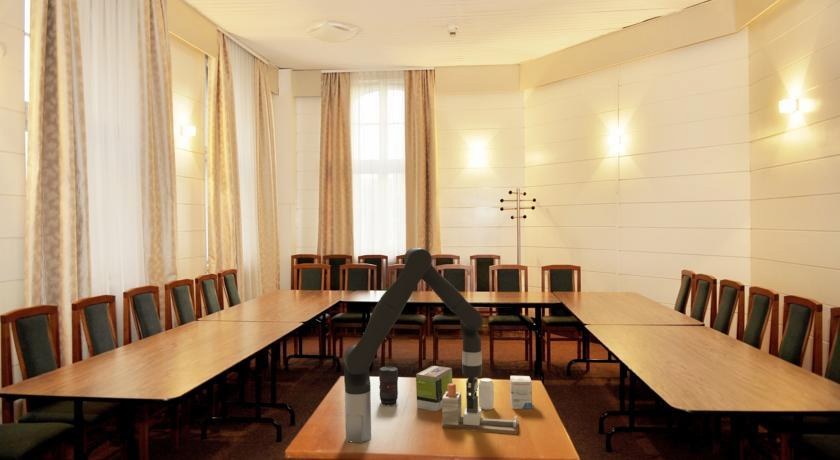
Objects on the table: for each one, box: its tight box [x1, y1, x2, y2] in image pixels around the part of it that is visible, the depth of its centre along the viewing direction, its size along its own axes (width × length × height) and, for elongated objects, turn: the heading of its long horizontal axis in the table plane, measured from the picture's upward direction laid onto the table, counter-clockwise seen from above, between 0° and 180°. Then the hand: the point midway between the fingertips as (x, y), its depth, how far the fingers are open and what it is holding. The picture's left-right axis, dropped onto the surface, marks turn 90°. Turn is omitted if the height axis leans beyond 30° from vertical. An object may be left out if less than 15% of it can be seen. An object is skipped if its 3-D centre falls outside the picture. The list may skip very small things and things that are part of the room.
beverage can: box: [478, 377, 495, 411], centre depth 218 cm, size 6×6×12 cm
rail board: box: [441, 391, 520, 435], centre depth 199 cm, size 10×28×11 cm, turn 76°
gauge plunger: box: [448, 382, 457, 397], centre depth 201 cm, size 3×3×10 cm
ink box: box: [509, 375, 533, 410], centre depth 221 cm, size 9×8×12 cm
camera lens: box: [378, 366, 399, 406], centre depth 226 cm, size 8×8×15 cm
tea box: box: [415, 365, 453, 412], centre depth 223 cm, size 15×10×15 cm, turn 149°
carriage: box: [462, 395, 482, 426], centre depth 199 cm, size 7×6×9 cm
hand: (472, 404), depth 199 cm, fingers open, 8 cm apart
